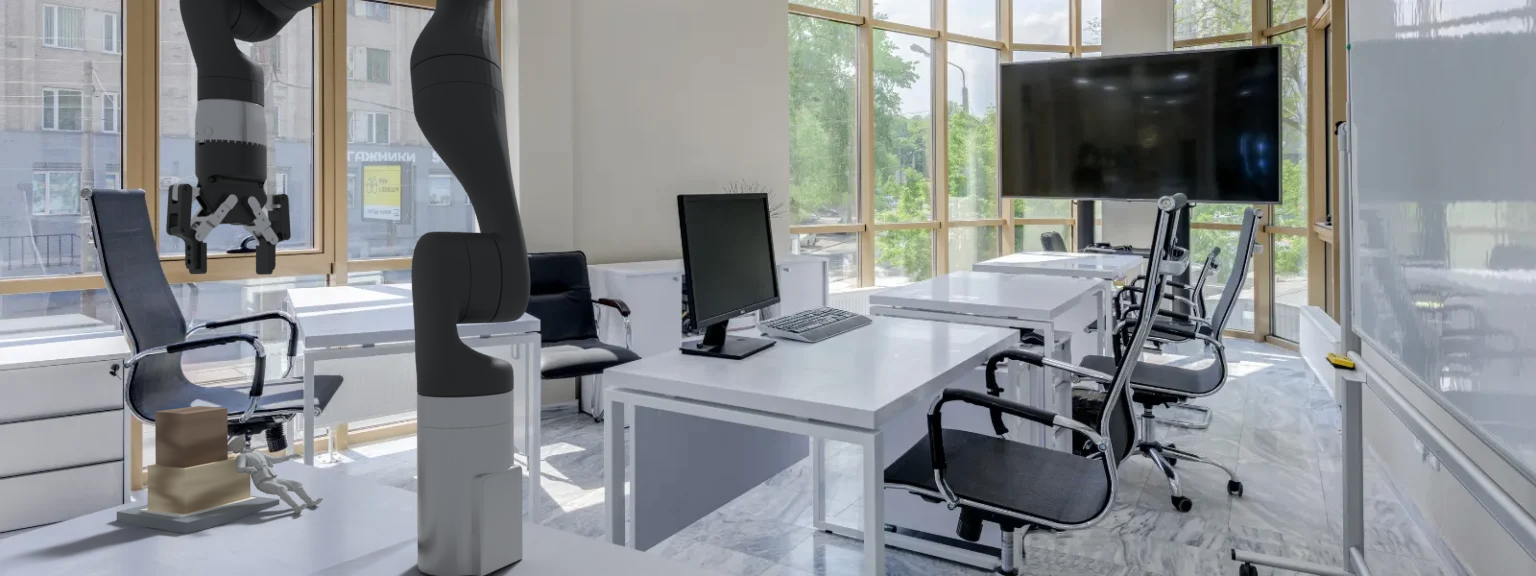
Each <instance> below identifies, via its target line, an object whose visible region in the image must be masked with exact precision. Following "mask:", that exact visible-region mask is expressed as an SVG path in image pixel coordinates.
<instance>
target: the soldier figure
mask: <svg viewBox="0 0 1536 576" xmlns="http://www.w3.org/2000/svg"><path fill="white" fill-rule="evenodd" d="M245 436H246V433H243V434H240V435H239V436H237V437H235V438H233V439H232V440H231V441H230V442H229V443H228V453H229V452H233V454H235V455H238V456H237V457H236V471H237V472H238V473H247V474H249V473H250V474H249V475H250V479H251V481H252V483H253V485H254V486H255V489H257V491H259V492H262V493H263V494H265V495H266V494H267V495H271V496H273V495H276V496H278V497H280V499H279V500H281V501H283V502H284V503H285V504H287V505H288V506H289V507H291V508H292V510H293V511H294V513H295V515H296V514H297V515H298V514H300V513H302V511H303V510H305V509H307V508H308V507H309V508H313V507H316V506H318V505H320V504H321V503H322V502H323V500H324V498H323V497H318V498H317V499H314V498H312V497H311V496H310V495H309V494H308V492H307V491H306V489H305V486H303V483H302V482H300V481H299V480H296V479H289V478H277V476H278V474H277V473H276V471H275V470H274V465H276V464H281V463H284V462H287V461H290V459H296V458H298V459H301V458H302V455H301V454H300V453H292V454H289V455H288V454H287V455H281V456H272V455H269V454H267V453H266V452H263V451H262V450H260V449H256V448H247V447H246V446H248V447H250V443H249V442H248V441H246V439H247V438H246V437H245ZM289 492H291V493H293V492H294V493H295V494H296V495H297V496H298V497H299V498H300V499H301V500H302V501H303V502H304V503H302V504H299V503H297V501H296V500H294V499H293V497H292V496H291V494H290V493H289Z"/></svg>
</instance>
